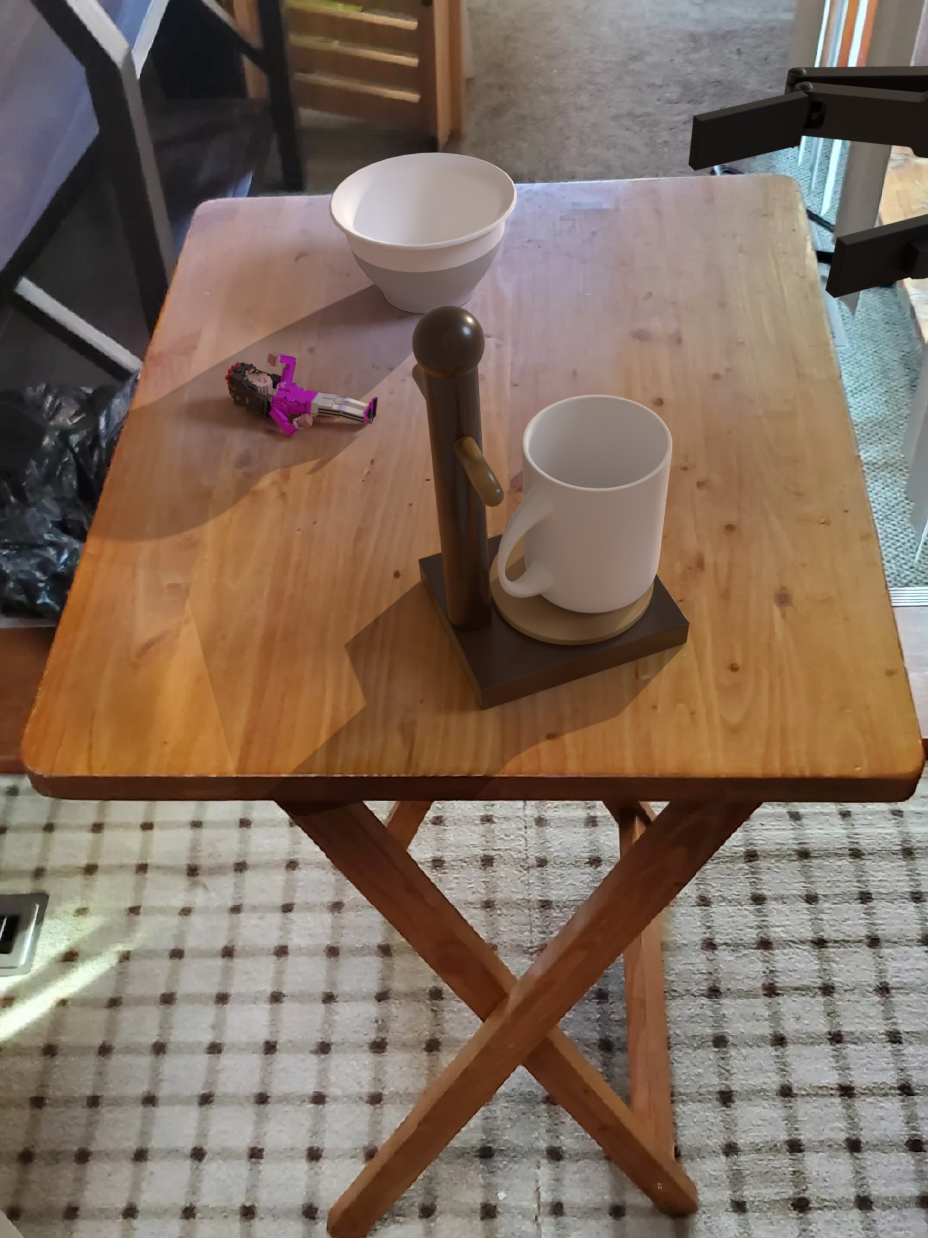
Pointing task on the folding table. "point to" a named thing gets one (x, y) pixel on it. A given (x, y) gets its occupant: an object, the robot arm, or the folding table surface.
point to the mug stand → (467, 566)
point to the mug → (590, 504)
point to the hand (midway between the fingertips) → (758, 201)
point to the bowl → (425, 225)
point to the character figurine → (290, 396)
